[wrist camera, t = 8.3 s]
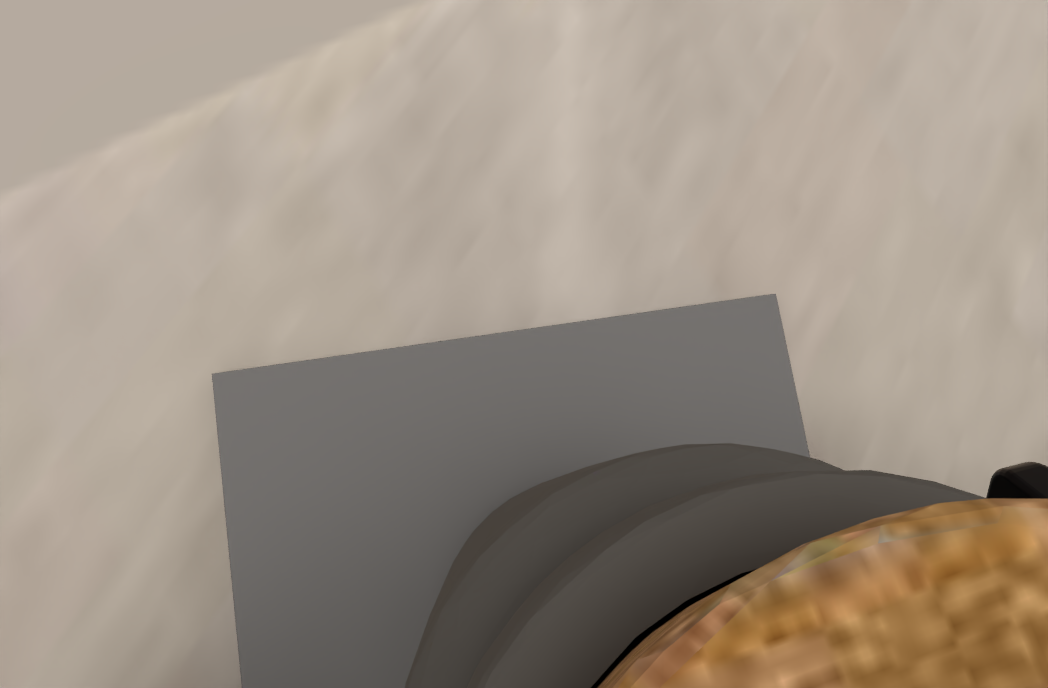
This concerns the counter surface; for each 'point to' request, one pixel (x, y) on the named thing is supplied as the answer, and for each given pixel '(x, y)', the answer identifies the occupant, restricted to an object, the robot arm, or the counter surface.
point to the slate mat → (454, 463)
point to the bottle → (743, 581)
